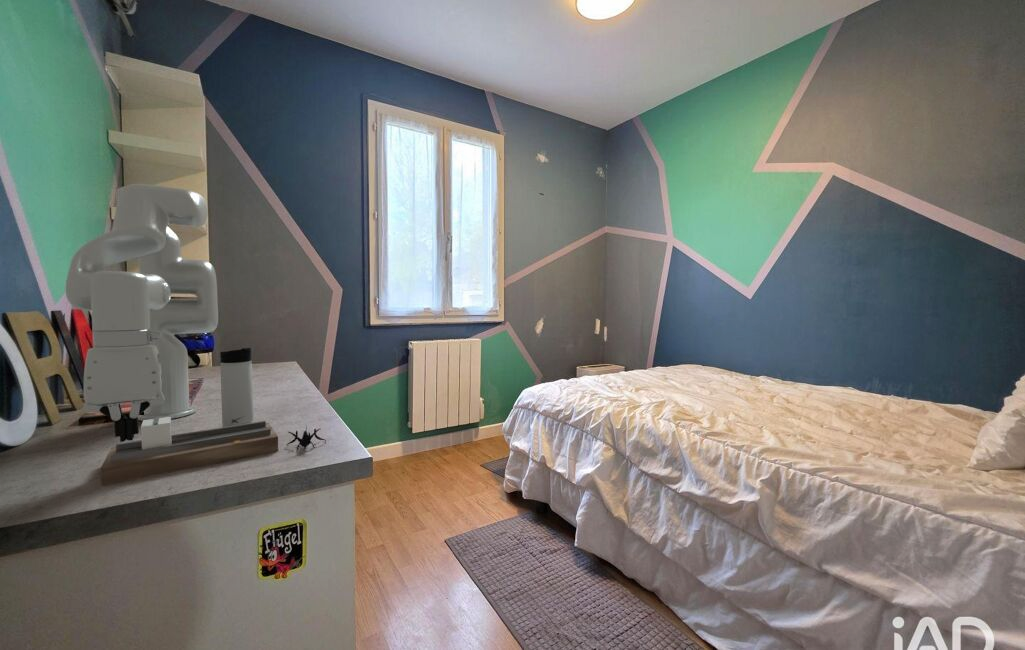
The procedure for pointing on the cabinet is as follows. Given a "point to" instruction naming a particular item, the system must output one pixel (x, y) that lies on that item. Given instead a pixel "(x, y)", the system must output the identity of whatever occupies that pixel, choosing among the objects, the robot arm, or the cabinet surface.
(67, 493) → the cabinet surface
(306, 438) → the creature
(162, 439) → the fader tab
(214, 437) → the fader console
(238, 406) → the travel mug
